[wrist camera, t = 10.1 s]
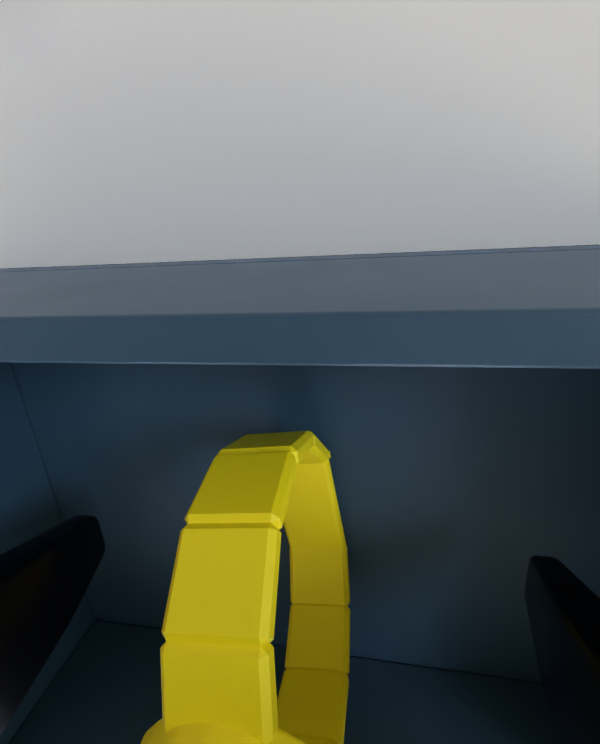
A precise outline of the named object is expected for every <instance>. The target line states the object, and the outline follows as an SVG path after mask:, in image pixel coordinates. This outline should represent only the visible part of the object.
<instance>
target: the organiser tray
mask: <svg viewBox="0 0 600 744" xmlns="http://www.w3.org/2000/svg"><path fill="white" fill-rule="evenodd" d="M294 431H311V432H312V433H313V434H314V435H315V436H316V437H317V438H318V439H319V440H320V442H321V443H322V444H323V445H324V446H325V447H326V448H327V450H328V451H330V455H331V458H329V461H330V466H331V471H332V476H333V481H334V486H335V491H336V496H337V501H338V506H339V511H340V516H341V521H342V525H343V530H344V535H345V540H346V545H347V548H348V567H349V586H350V603H349V605H348V607H349V609H350V673H349V674H348V679H349V688H348V699H347V710H346V721H345V732H344V743H343V744H560V742H559V738H558V735H557V732H556V729H555V726H554V723H553V719H552V716H551V713H550V710H549V707H548V703H547V700H546V696H545V693H544V689H543V684H542V680H541V675H540V671H539V666H538V661H537V656H536V651H535V646H534V641H533V636H532V632H531V627H530V622H529V617H528V612H527V607H526V602H525V583H526V577H527V571H528V565H529V560H530V558H531V557H532V556H534V555H539V556H550V557H555V558H557V559H558V560H560V561H561V562H562V563H563V564H564V565H565V566H566V567H567V568H568V569H569V570H570V571H571V572H573V573H574V574H575V575H576V576H577V577H578V578H579V579H580V580H581V581H582V582H583V583H584V584H585V585H586V586H588V587H589V588H590V589H591V590H592V591H593V592H594V593H595V594H596V595H597V596H598V597H599V598H600V245H579V246H555V247H530V248H505V249H480V250H455V251H431V252H406V253H381V254H356V255H332V256H307V257H282V258H257V259H233V260H208V261H183V262H158V263H133V264H109V265H84V266H59V267H34V268H10V269H0V555H1V554H2V553H4V552H6V551H8V550H10V549H12V548H14V547H16V546H18V545H20V544H22V543H24V542H26V541H28V540H30V539H32V538H33V537H35V536H37V535H39V534H41V533H43V532H45V531H47V530H49V529H51V528H53V527H55V526H57V525H59V524H61V523H63V522H64V521H66V520H68V519H70V518H72V517H74V516H76V515H90V516H94V517H96V518H97V519H98V521H99V524H100V528H101V531H102V534H103V538H104V541H105V552H104V555H103V558H102V560H101V562H100V564H99V566H98V568H97V570H96V572H95V574H94V576H93V578H92V580H91V582H90V584H89V586H88V588H87V590H86V592H85V594H84V596H83V598H82V600H81V602H80V604H79V606H78V608H77V610H76V612H75V614H74V616H73V618H72V619H71V621H70V623H69V625H68V627H67V628H66V630H65V632H64V633H63V635H62V637H61V638H60V640H59V642H58V643H57V645H56V646H55V648H54V650H53V651H52V653H51V655H50V656H49V658H48V660H47V661H46V663H45V664H44V666H43V668H42V669H41V671H40V673H39V674H38V676H37V678H36V679H35V681H34V682H33V684H32V686H31V687H30V689H29V691H28V692H27V694H26V696H25V697H24V699H23V700H22V702H21V704H20V705H19V707H18V709H17V710H16V712H15V713H14V715H13V717H12V718H11V720H10V722H9V723H8V725H7V727H6V728H5V730H4V731H3V733H2V735H1V736H0V744H140V743H141V741H142V739H143V736H144V735H145V733H146V732H147V730H149V729H150V728H151V727H152V726H153V725H154V724H155V723H157V722H158V721H159V720H160V719H162V691H161V661H160V648H161V647H162V645H163V644H164V643H165V642H166V640H165V638H164V636H163V634H162V627H163V621H164V616H165V611H166V605H167V600H168V595H169V590H170V584H171V579H172V574H173V569H174V563H175V558H176V553H177V547H178V542H179V537H180V532H181V530H182V529H183V528H184V527H185V526H186V525H187V523H186V521H185V517H186V515H187V512H188V510H189V508H190V506H191V504H192V502H193V500H194V498H195V496H196V494H197V492H198V490H199V488H200V486H201V484H202V481H203V479H204V477H205V475H206V473H207V471H208V469H209V467H210V465H211V463H212V461H213V459H214V458H215V457H216V456H217V454H218V453H219V452H220V450H221V449H223V448H225V447H226V446H228V445H230V444H231V443H233V442H235V441H237V440H238V439H240V438H242V437H243V436H245V435H247V434H262V433H278V432H294ZM279 531H280V532H281V547H280V560H279V574H278V588H277V602H276V616H275V630H274V639H273V640H272V641H271V645H272V646H273V647H274V659H275V676H276V693H277V699H278V695H279V691H280V686H281V682H282V677H283V673H284V671H285V670H286V668H285V658H286V648H287V637H288V627H289V616H290V606H291V605H292V603H291V594H290V545H289V542H288V538H287V534H286V531H285V527H284V524H283V527H282V528H281V529H280V530H279Z"/></svg>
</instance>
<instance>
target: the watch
mask: <svg viewBox="0 0 600 744" xmlns="http://www.w3.org/2000/svg"><path fill="white" fill-rule="evenodd" d="M329 458H331V455H330V451H328V450H327V448H326V447H325V446H324V445H323V444H322V443H321V442H320V440H319V439H318V438H317V437H316V436H315V435H314V434H313V433H312V432H311V431H294V432H278V433H262V434H247V435H245V436H243V437H242V438H240V439H238V440H237V441H235V442H233V443H231V444H230V445H228V446H226V447H225V448H223V449H221V450H220V452H219V453H218V454H217V456H216V457H215V458H214V459H213V461H212V463H211V465H210V467H209V469H208V471H207V473H206V475H205V477H204V479H203V481H202V484H201V486H200V488H199V490H198V492H197V494H196V496H195V498H194V500H193V502H192V504H191V506H190V508H189V510H188V512H187V515H186V517H185V521H186V523H187V525H186V526H185V527H184V528H183V529H182V530H181V532H180V537H179V542H178V547H177V553H176V558H175V563H174V569H173V574H172V579H171V584H170V590H169V595H168V600H167V605H166V611H165V616H164V621H163V627H162V634H163V636H164V638H165V640H166V642H165V643H164V644H163V645H162V647H161V648H160V661H161V691H162V719H160V720H159V721H158V722H157V723H155V724H154V725H153V726H152V727H151V728H150V729H149V730H147V732H146V733H145V735H144V736H143V739H142V741H141V743H140V744H343V743H344V732H345V721H346V710H347V699H348V688H349V679H348V674H349V673H350V609H349V607H348V605H349V603H350V586H349V567H348V548H347V545H346V540H345V535H344V530H343V525H342V521H341V516H340V511H339V506H338V501H337V496H336V491H335V486H334V481H333V476H332V471H331V466H330V461H329ZM283 524H284V527H285V531H286V534H287V538H288V542H289V545H290V594H291V603H292V605H291V606H290V616H289V627H288V637H287V648H286V658H285V668H286V670H285V671H284V673H283V677H282V682H281V686H280V691H279V695H278V699H277V693H276V676H275V659H274V647H273V646H272V645H271V641H272V640H273V639H274V630H275V616H276V602H277V588H278V574H279V560H280V547H281V532H280V531H279V530H280V529H281V528H282V527H283Z"/></svg>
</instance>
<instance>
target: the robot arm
mask: <svg viewBox="0 0 600 744" xmlns="http://www.w3.org/2000/svg"><path fill="white" fill-rule="evenodd" d="M104 552H105V541H104V538H103V534H102V531H101V528H100V524H99V521H98V519H97V518H96V517H94V516H90V515H76V516H74V517H72V518H70V519H68V520H66V521H64V522H63V523H61V524H59V525H57V526H55V527H53V528H51V529H49V530H47V531H45V532H43V533H41V534H39V535H37V536H35V537H33V538H32V539H30V540H28V541H26V542H24V543H22V544H20V545H18V546H16V547H14V548H12V549H10V550H8V551H6V552H4V553H2V554H1V555H0V736H1V735H2V733H3V731H4V730H5V728H6V727H7V725H8V723H9V722H10V720H11V718H12V717H13V715H14V713H15V712H16V710H17V709H18V707H19V705H20V704H21V702H22V700H23V699H24V697H25V696H26V694H27V692H28V691H29V689H30V687H31V686H32V684H33V682H34V681H35V679H36V678H37V676H38V674H39V673H40V671H41V669H42V668H43V666H44V664H45V663H46V661H47V660H48V658H49V656H50V655H51V653H52V651H53V650H54V648H55V646H56V645H57V643H58V642H59V640H60V638H61V637H62V635H63V633H64V632H65V630H66V628H67V627H68V625H69V623H70V621H71V619H72V618H73V616H74V614H75V612H76V610H77V608H78V606H79V604H80V602H81V600H82V598H83V596H84V594H85V592H86V590H87V588H88V586H89V584H90V582H91V580H92V578H93V576H94V574H95V572H96V570H97V568H98V566H99V564H100V562H101V560H102V558H103V555H104ZM525 602H526V607H527V612H528V617H529V622H530V627H531V632H532V636H533V641H534V646H535V651H536V656H537V661H538V666H539V671H540V675H541V680H542V684H543V689H544V693H545V696H546V700H547V703H548V707H549V710H550V713H551V716H552V719H553V723H554V726H555V729H556V732H557V735H558V738H559V742H560V744H600V598H599V597H598V596H597V595H596V594H595V593H594V592H593V591H592V590H591V589H590V588H589V587H588V586H586V585H585V584H584V583H583V582H582V581H581V580H580V579H579V578H578V577H577V576H576V575H575V574H574V573H573V572H571V571H570V570H569V569H568V568H567V567H566V566H565V565H564V564H563V563H562V562H561V561H560V560H558V559H557V558H555V557H550V556H539V555H534V556H532V557H531V558H530V560H529V565H528V571H527V577H526V583H525Z"/></svg>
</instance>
